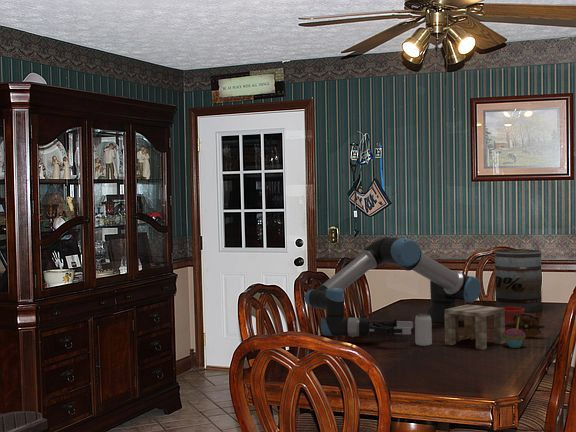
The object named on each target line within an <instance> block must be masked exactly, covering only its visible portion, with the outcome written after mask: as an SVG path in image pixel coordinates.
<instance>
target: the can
mask: <svg viewBox="0 0 576 432" xmlns="http://www.w3.org/2000/svg"><path fill="white" fill-rule="evenodd" d="M414 328H415V329H414V333H415V334H414V335H415V336H414V339H415V345H416V346H420V347H429V346H431V345H432V342H433V340H432V339H433V335H432V333H433V331H432V322H431V317H430V314H428V313H416V315H415V318H414Z"/></svg>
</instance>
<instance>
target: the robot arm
mask: <svg viewBox="0 0 576 432" xmlns="http://www.w3.org/2000/svg"><path fill="white" fill-rule="evenodd" d="M384 264H385V265H386V264H387V265H394V266H398V267H400V268H401V269H402V270H404V271H409V272H410V271H413V272H414V273H417V274H419V275H420V276H422V277H424V278H425V279H427V280H429V283H430V284H429V285H430V286H429V287H430V291H429V292H430V305H429V308H428V312H427V314H430V317H431V323H441V324H445V309H449V308H454V307H458V306H457V303H456V301H460V302H465V303H474V302H475V301H477V300H478V299H479V298H480V294H481V291H482V286H481V284H482V283H481V281H480V280H479V278H478V277H476V276H473V275H471V276H470V275H467V274H465V273H463V272H462V271H461V270H456V269H455V270H451V269H450V268H448V267H447V266H445V265H443V264H441V263H440V262H438V261H436V260H435V259H433V258H431V257H429V256H428V255H426V254H424V253H423V251H422V249H421V247H420V246H419V244H418V243H417V242H416V241H415V240H413V239H412V238H408V237H390V236H389V237H388V236H385V237H381V238H379V239H377V240H375V241H373V242H372V243H370V244H368V245H367V246H366V247H365V248H363V249H362V250H361V251H360V254H359V255H358V256H357V257H355V259H352V261H351V262H349V263H348V264H347V265H345V266H344V267H343V268H342V269H340V270H339V271H338V272H337V273H335V274H334V275H332V276H331V277H330V278H329V279H328V280H326V281H324V283H322V284H321V285H320V286H318V287H317V288H316V289H314V288H312V289H309V290H307V291H306V293H305V294H304V302H305V305H307V306H308V307H310V308H312V309H319V310H324V311H325V315H326V316H325V317H322V318H321V321H320V322H321V323H320V330H321V331H320V332H321V334H322V335H323V336H330V337H351V338H354V337H358V336H359V337H369V336H370V334H376V335H388V336H391V337H394V336H395V335H412V329H413V328H414V322H413V321H412V320H411V321H408V320H407V321H405V320H403V321H401V320H398V319H394V320H381V321H376V320H375V321H372V322H370V319H369V317H360V318H358V317H346V316H345V291H344V290H346V289H347V288H348V287H349V286H350V285H352V284H353V283H354V282H356V281H357V280H359V278H361V277H362V276H363V275H364V274H366V273H367V272H368V271H369V270H371V269H374V270H375V269H376V268H377V267H378V266H381V265H384ZM460 317H461V315H458V322H459V321H461V318H460Z"/></svg>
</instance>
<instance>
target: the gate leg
mask: <svg viewBox="0 0 576 432" xmlns="http://www.w3.org/2000/svg"><path fill="white" fill-rule="evenodd" d="M463 316H464V318H463V319H464V321H463V324H464V334H462V335H459V321H458V315H457V314H455V333H456V343H458V342H459V341H463V340H476V320H475V317H474V316H466V315H463Z"/></svg>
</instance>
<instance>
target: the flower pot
mask: <svg viewBox="0 0 576 432" xmlns="http://www.w3.org/2000/svg"><path fill="white" fill-rule="evenodd" d="M500 308H504V311H505V324H508V323H514V320H513V318H514V315H515V314H516V315H519V314H522V313H524V308H520V307H500ZM505 331H506V328H505Z"/></svg>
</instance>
